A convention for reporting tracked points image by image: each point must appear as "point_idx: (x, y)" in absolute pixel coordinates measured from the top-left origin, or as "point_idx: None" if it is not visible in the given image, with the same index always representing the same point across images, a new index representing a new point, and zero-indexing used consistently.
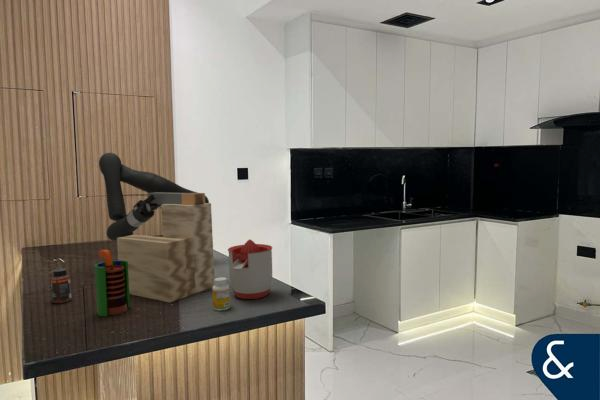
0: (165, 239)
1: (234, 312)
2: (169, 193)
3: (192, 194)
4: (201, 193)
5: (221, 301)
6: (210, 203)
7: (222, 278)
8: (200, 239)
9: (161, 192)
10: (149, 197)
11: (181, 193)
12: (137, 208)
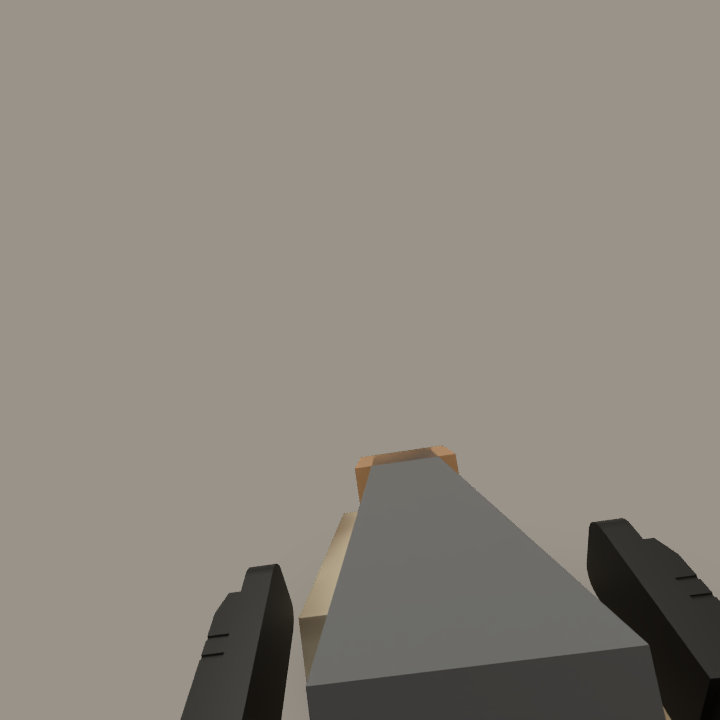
0: (668, 717)
1: None
2: (455, 477)
3: (442, 446)
4: (383, 454)
5: None
6: (347, 513)
7: None
8: None
9: (344, 573)
10: (675, 567)
11: (419, 464)
12: None
